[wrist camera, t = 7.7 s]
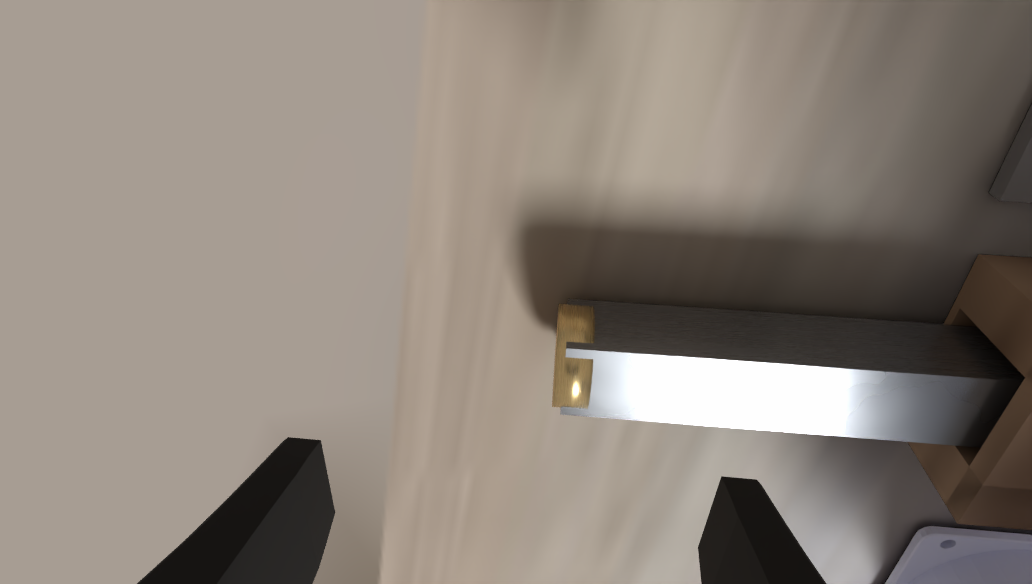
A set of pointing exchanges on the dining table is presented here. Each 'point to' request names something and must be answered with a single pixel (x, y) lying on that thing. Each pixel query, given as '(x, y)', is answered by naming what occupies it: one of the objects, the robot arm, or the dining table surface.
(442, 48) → the dining table surface
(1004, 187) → the cradle
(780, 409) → the shaft
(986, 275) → the brown wooden block
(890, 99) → the dining table surface
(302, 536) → the robot arm
